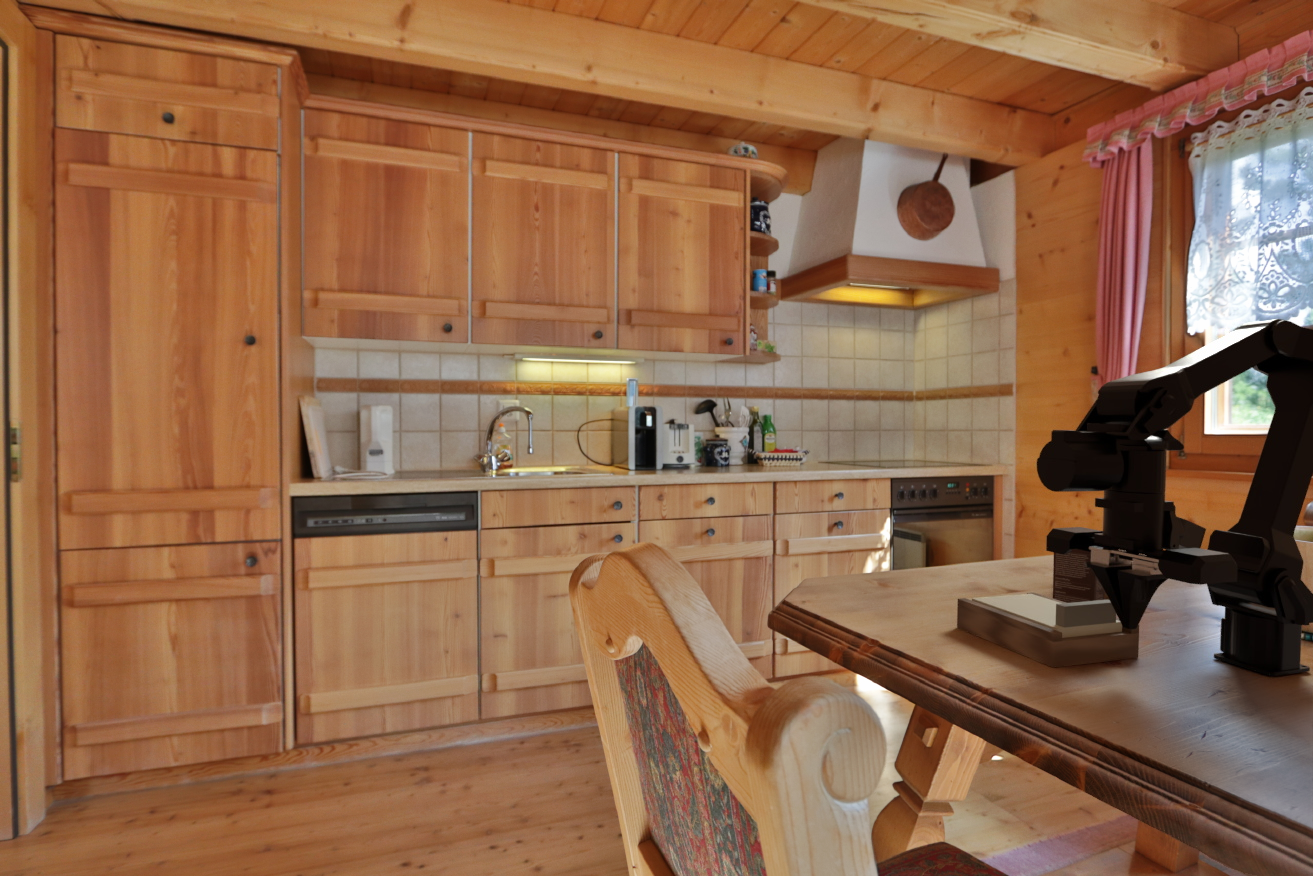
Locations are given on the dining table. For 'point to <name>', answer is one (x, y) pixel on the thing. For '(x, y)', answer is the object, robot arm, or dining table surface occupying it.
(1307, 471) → the robot arm
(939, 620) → the dining table surface
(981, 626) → the walnut box
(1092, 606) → the cover plate
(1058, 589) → the box
